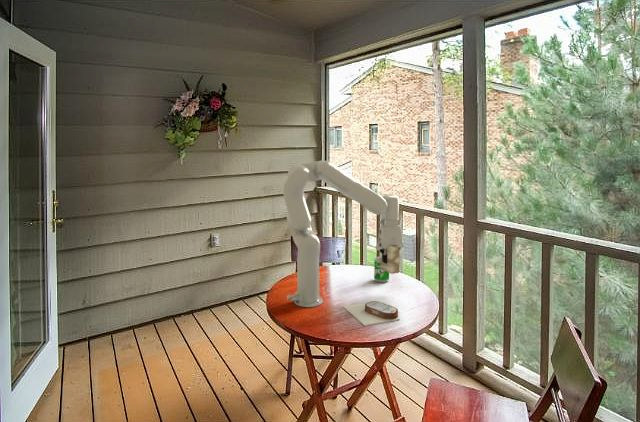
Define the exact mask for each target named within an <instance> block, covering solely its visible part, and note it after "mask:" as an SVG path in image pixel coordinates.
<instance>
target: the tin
mask: <svg viewBox="0 0 640 422" xmlns="http://www.w3.org/2000/svg"><path fill="white" fill-rule="evenodd" d="M365 303H366V304H365V312H367V313H369V314H372V315H374V316H377V317H380V318H382V319H395V318H397V317H398V318H399V309H398V308H397V307H395V306H393V305H390V304H387V303H384V302H381V301H377V300H376V301H373V300H372V301H369V303H368V302H365Z"/></svg>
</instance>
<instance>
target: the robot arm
mask: <svg viewBox="0 0 640 422" xmlns="http://www.w3.org/2000/svg"><path fill="white" fill-rule="evenodd" d="M320 180H321V181H322V182H324V183H326V184H327V185H328V186H329V187H332V188H333V189H335V190H336V191H338V192H339V193H340V194H342V195H343V196H345V197H347V198H348V199H350V200H352V201H355V202H356V203H358V204H360V205H361V206H362V207H364V209H365V210H366V211H368V212H370V213H372V214H375V215H377V216H378V215H381V218H380V220H379V222H378V224H380V226H379V230H378V238H377V244H376V245H375V250H376V251H378V252H379V253H380V252H381V254H382V261H383V262H384V263H385V264H387V255H386V252H387V249H389V246H396V245H397V246H399V251H400V250H401V249H402V248H403V247H404V243H403V236H402V228H401V225H400V224H399V223H400V222H399V221H400V220H399V215H400V214H399V213H400V209H399V208H400V198H399V196H398V195H396V194H384V195H383V194H382V195H380V194H378V193H376V192H375V191H374V190H372V189H371V188H370V187H367V186H366V185H364V184H363V183H362V182H361V181H359V180H358V179H356V178H354V177H353V176H352V175H350V174H349V173H347V172H346V171H345V170H343V169H342V168H341V167H339V166H337V165H336V164H334V163H333V162H331V161H328V160H323V159H321V160H318V161H310V162H304V163H298V164H294V165H292V166H291V167H289V168H288V172H287V179H286V181H285V183H284V185H283V198H284V203H285V206H286V210H287V212H286V220H287V225H288V228H289V231H290V233H291V237H292V240H293V242H294V244H295V246H296V247H297V255H296V257H297V258H296V259H297V260H296V261H297V263H296V269H297V276H296V277H297V291H295V293H293V294H287V295H286V300H288V301H289V300H291V301H292V302H293V303H294V305H296V306H298V307H303V308H314V307H315V308H316V307H318V306H320V305H322V304H323V302H324V300H323V297H322V296H320V253H321V241H320V238H319V237H318V235H317V234H316V233H315V232H314V231H313V229H312V225H311V224H312V216H311V213H310V210H309V208H308V207H309V206H308V205H307V204H308V203H307V201H306V197H305V189H306V186H308V184H309V183H310V182H311V183H312V182H316V181H320ZM380 247H382V249H381V248H380Z"/></svg>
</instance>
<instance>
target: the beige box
mask: <svg viewBox="0 0 640 422" xmlns="http://www.w3.org/2000/svg"><path fill="white" fill-rule="evenodd" d="M380 248H381V249H382V247H380ZM379 253H380V254H379V255H380V268H381V269H383V270H385V271H387V272H389V274H391V275H393V274H400V250H399V246H397V245H396V246H389V249H387V252H386V255H387V264H385V263H384V262H383V261H382V254H381V252H380V251H379Z"/></svg>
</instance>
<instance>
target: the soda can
mask: <svg viewBox="0 0 640 422" xmlns="http://www.w3.org/2000/svg"><path fill="white" fill-rule="evenodd" d="M373 262H374V268H373V271H374V273H373V279H374V281H375V282H377V283H387V282H388V281H389V280H390V273H389V272H387V271H385V270H383V269H381V268H380V256H378V255H377V256H376V257H375V258H374V261H373Z"/></svg>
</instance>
